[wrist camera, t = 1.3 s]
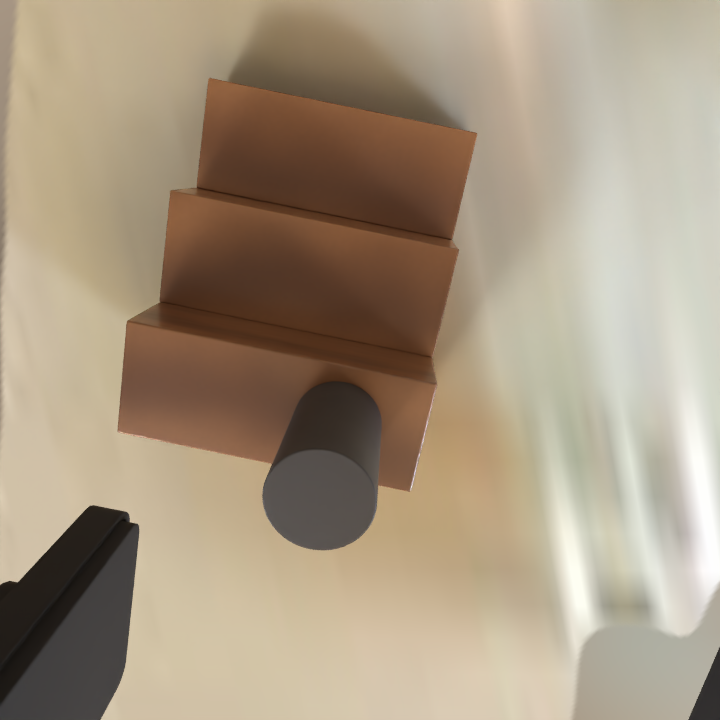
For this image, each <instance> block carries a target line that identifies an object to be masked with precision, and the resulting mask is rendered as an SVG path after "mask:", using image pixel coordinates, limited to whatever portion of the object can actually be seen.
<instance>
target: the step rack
mask: <svg viewBox="0 0 720 720" xmlns="http://www.w3.org/2000/svg"><path fill="white" fill-rule="evenodd" d="M476 137H477V133H474V132H470V131H465V130H460V129H455V128H450V127H445V126H440V125H436V124H431V123H426V122H421V121H416V120H411V119H406V118H401V117H397V116H392V115H387V114H382V113H377V112H372V111H367V110H363V109H358V108H353V107H348V106H343V105H338V104H333V103H328V102H324V101H319V100H314V99H309V98H304V97H299V96H294V95H290V94H285V93H280V92H275V91H270V90H265V89H260V88H255V87H251V86H246V85H241V84H236V83H231V82H226V81H221V80H217V79H212V78H209V80H208V89H207V98H206V106H205V115H204V124H203V133H202V142H201V151H200V160H199V169H198V178H197V188H190V189H180V190H171V191H170V201H169V211H168V221H167V231H166V241H165V251H164V261H163V271H162V281H161V292H160V303H158V304H156V305H154V306H152V307H151V308H149V309H147V310H145V311H144V312H142V313H140V314H138V315H137V316H135V317H133V318H131V319H130V320H128V321H127V325H126V337H125V349H124V361H123V373H122V385H121V397H120V409H119V420H118V432H119V433H123V434H128V435H133V436H138V437H143V438H148V439H153V440H158V441H163V442H167V443H172V444H177V445H182V446H187V447H192V448H197V449H202V450H207V451H212V452H217V453H221V454H226V455H231V456H236V457H241V458H246V459H251V460H256V461H261V462H266V463H271V464H272V463H273V461H274V459H275V456H276V454H277V451H278V449H279V447H280V444H281V442H282V440H283V437H284V435H285V432H286V430H287V428H288V425H289V423H290V421H291V418H292V416H293V413H294V411H295V409H296V406H297V404H298V402H299V401H300V399H301V398H302V396H303V395H304V394H305V393H306V392H307V391H309V390H310V389H311V388H313V387H315V386H317V385H319V384H322V383H326V382H332V381H340V382H347V383H350V384H353V385H356V386H358V387H359V388H361V389H363V390H364V391H365V392H367V393H368V394H369V395H370V396H371V397H372V399H373V400H374V401H375V403H376V404H377V406H378V409H379V411H380V415H381V420H382V428H381V444H380V461H379V478H378V485H379V486H384V487H389V488H393V489H398V490H403V491H408V492H410V491H411V489H412V485H413V481H414V477H415V473H416V469H417V465H418V461H419V457H420V453H421V449H422V445H423V441H424V437H425V433H426V429H427V425H428V421H429V417H430V413H431V409H432V405H433V401H434V397H435V393H436V389H437V381H436V376H435V370H434V365H433V359H432V357H433V355H434V351H435V347H436V343H437V338H438V334H439V330H440V326H441V322H442V318H443V314H444V309H445V305H446V301H447V297H448V293H449V289H450V285H451V281H452V276H453V272H454V268H455V264H456V260H457V256H458V252H459V249H458V248H457V247H456V245H455V244H454V243H453V241H452V238H453V234H454V230H455V225H456V221H457V217H458V213H459V209H460V204H461V200H462V196H463V192H464V188H465V183H466V179H467V175H468V171H469V166H470V162H471V158H472V154H473V150H474V145H475V141H476Z"/></svg>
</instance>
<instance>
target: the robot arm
mask: <svg viewBox="0 0 720 720" xmlns="http://www.w3.org/2000/svg"><path fill="white" fill-rule="evenodd" d="M138 539H139V525H138V524H135V523H130V518H129V514H128V513H127V512H124V511H119V510H114V509H109V508H104V507H99V506H94V505H93V506H89V507H88V508H87V509H86V510H85V511H84V512H83V513H82V514H81V515H80V516H79V517H78V518H77V520H76V521H75V522H74V523H73V524H72V525H71V526H70V527H69V528H68V529H67V530H66V531H65V532H64V534H63V535H62V536H61V537H60V538H59V539H58V540H57V541H56V542H55V543H54V544H53V545H52V546H51V548H50V549H49V550H48V551H47V552H46V553H45V554H44V555H43V556H42V557H41V558H40V559H39V560H38V561H37V563H36V564H35V565H34V566H33V567H32V568H31V569H30V570H29V571H28V572H27V573H26V574H25V575H24V577H23V578H22V579H21V580H20V581H19V582H18V583H17V582H12V581H8V582H5V583H3V584H1V585H0V720H100V719H101V717H102V716H103V714H104V712H105V710H106V708H107V706H108V705H109V703H110V701H111V699H112V697H113V695H114V693H115V692H116V690H117V688H118V686H119V683H120V681H121V678H122V675H123V672H124V668H125V663H126V655H127V645H128V636H129V626H130V616H131V607H132V597H133V587H134V577H135V568H136V558H137V548H138ZM689 720H720V648H719V650H718V652H717V655H716V657H715V659H714V662H713V664H712V666H711V669H710V671H709V673H708V676H707V678H706V680H705V682H704V685H703V687H702V689H701V692H700V694H699V696H698V699H697V701H696V703H695V706H694V708H693V711H692V713H691V715H690V717H689Z"/></svg>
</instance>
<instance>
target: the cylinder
mask: <svg viewBox="0 0 720 720" xmlns="http://www.w3.org/2000/svg"><path fill="white" fill-rule="evenodd" d="M381 428H382V420H381V415H380V411H379V409H378V406H377V404H376V403H375V401H374V400H373V399H372V397H371V396H370V395H369V394H368V393H367V392H365V391H364V390H363V389H361V388H359V387H358V386H356V385H353V384H350V383H347V382H340V381H332V382H326V383H322V384H319V385H317V386H315V387H313V388H311V389H310V390H309V391H307V392H306V393H305V394H304V395H303V396H302V398H301V399H300V401H299V402H298V404H297V406H296V409H295V411H294V413H293V416H292V418H291V421H290V423H289V425H288V428H287V430H286V432H285V435H284V437H283V440H282V442H281V444H280V447H279V449H278V451H277V454H276V456H275V459H274V461H273V463H272V466H271V468H270V470H269V473H268V475H267V478H266V480H265V483H264V487H263V495H262V496H263V505H264V509H265V512H266V515H267V517H268V519H269V521H270V523H271V524H272V526H273V527H274V528H275V529H276V530H277V532H278V533H280V534H281V535H282V536H283V537H284V538H286V539H287V540H289V541H290V542H292V543H294V544H296V545H298V546H301V547H304V548H308V549H313V550H332V549H337V548H340V547H344V546H346V545H348V544H350V543H352V542H354V541H355V540H357V539H358V538H359V537H360V536H362V535H363V534H364V533H365V531H366V530H367V529H368V528H369V526H370V525H371V523H372V521H373V519H374V516H375V513H376V507H377V494H378V478H379V461H380V444H381Z"/></svg>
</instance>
